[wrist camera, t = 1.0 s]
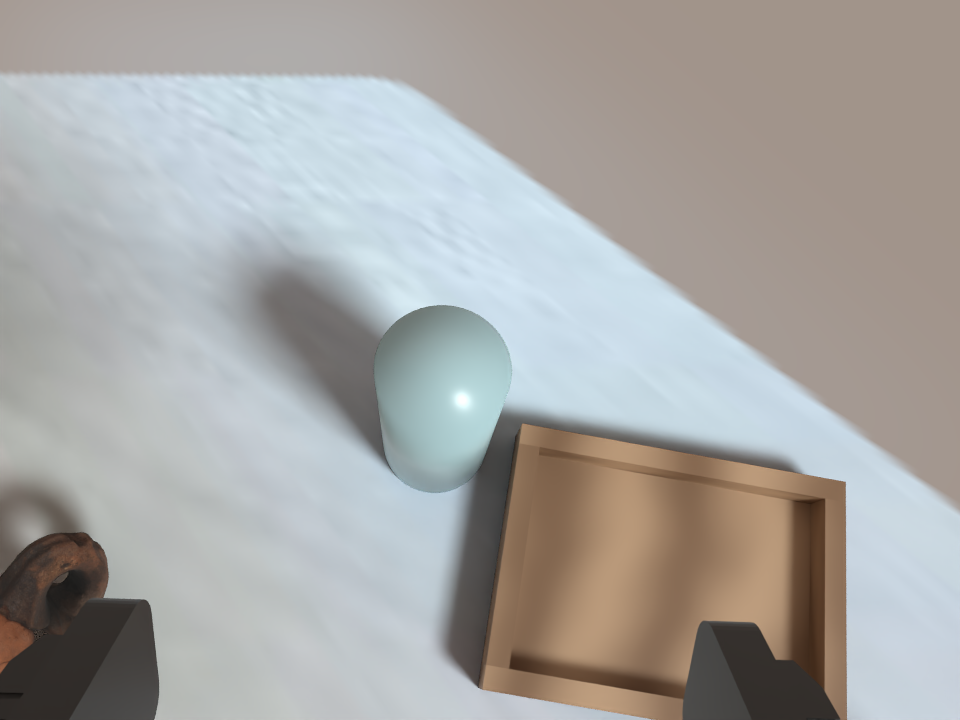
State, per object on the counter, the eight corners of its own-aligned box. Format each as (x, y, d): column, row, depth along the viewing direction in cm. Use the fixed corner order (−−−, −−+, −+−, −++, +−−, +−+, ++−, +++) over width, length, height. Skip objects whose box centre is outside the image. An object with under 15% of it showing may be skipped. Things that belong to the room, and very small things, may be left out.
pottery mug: (76, 847, 33) (-140, 901, 26) (-25, 719, 38) (-229, 736, 31) (211, 583, 34) (38, 568, 27) (96, 493, 39) (-75, 460, 32)
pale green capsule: (373, 482, 39) (360, 421, 29) (394, 384, 41) (388, 294, 31) (477, 501, 39) (500, 447, 29) (493, 402, 41) (520, 318, 31)
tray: (477, 687, 36) (482, 689, 34) (515, 436, 40) (522, 423, 38) (818, 746, 36) (846, 752, 34) (820, 491, 41) (845, 481, 38)
